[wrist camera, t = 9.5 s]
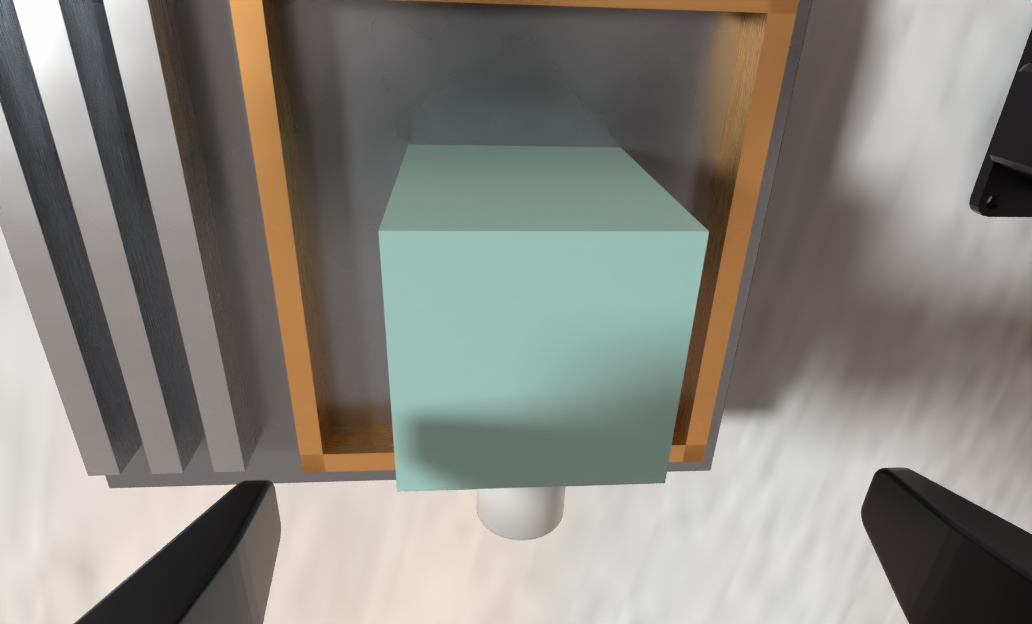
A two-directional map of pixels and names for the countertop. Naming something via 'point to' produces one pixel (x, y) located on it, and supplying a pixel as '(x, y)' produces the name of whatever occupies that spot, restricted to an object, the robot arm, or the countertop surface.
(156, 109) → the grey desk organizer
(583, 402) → the mint green box
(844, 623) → the countertop surface
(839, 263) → the countertop surface
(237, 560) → the robot arm
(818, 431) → the countertop surface
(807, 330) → the countertop surface
